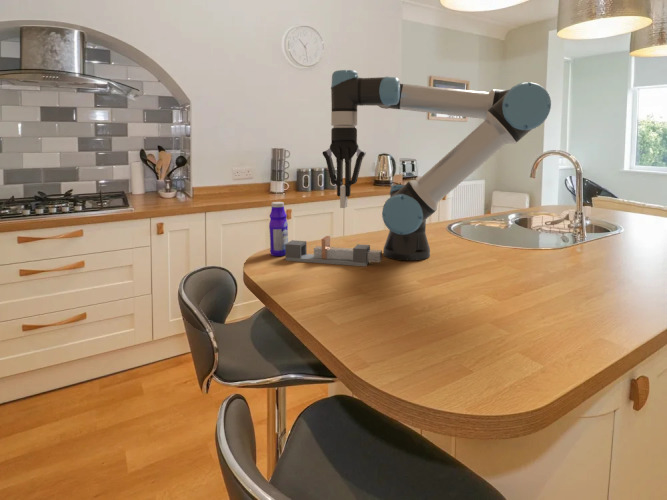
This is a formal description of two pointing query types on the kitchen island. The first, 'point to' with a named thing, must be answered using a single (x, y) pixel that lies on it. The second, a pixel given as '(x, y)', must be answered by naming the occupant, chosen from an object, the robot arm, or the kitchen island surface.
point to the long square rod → (342, 252)
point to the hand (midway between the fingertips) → (343, 207)
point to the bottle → (278, 229)
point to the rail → (299, 253)
